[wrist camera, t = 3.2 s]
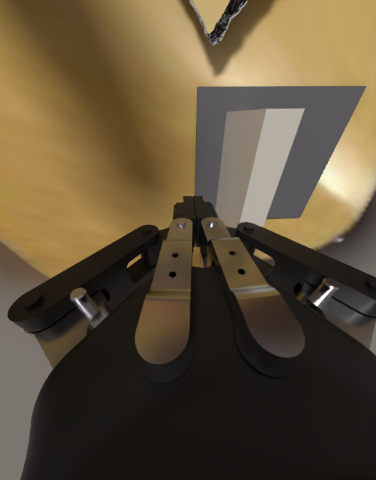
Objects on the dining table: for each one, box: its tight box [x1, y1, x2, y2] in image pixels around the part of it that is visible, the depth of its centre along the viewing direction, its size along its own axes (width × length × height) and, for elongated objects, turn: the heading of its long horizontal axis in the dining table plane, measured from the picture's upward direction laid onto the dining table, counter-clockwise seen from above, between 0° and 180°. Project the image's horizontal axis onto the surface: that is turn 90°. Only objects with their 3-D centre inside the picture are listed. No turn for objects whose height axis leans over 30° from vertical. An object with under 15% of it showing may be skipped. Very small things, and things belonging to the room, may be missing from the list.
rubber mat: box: [195, 86, 366, 218], centre depth 21 cm, size 18×16×1 cm
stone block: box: [216, 108, 305, 228], centre depth 17 cm, size 3×12×10 cm, turn 0°
